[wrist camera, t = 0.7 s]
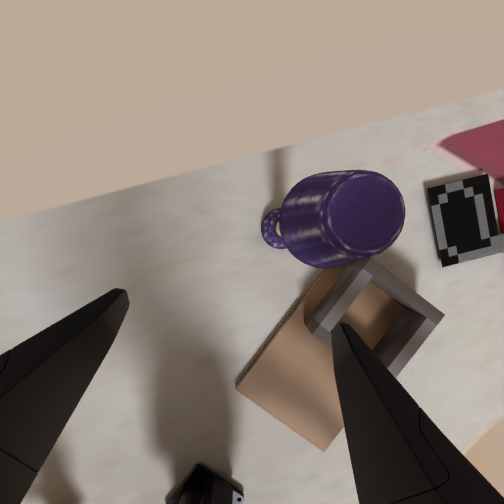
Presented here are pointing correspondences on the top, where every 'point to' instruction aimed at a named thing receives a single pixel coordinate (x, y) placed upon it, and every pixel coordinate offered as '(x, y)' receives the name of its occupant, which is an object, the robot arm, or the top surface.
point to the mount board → (320, 347)
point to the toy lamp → (337, 218)
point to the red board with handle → (467, 219)
